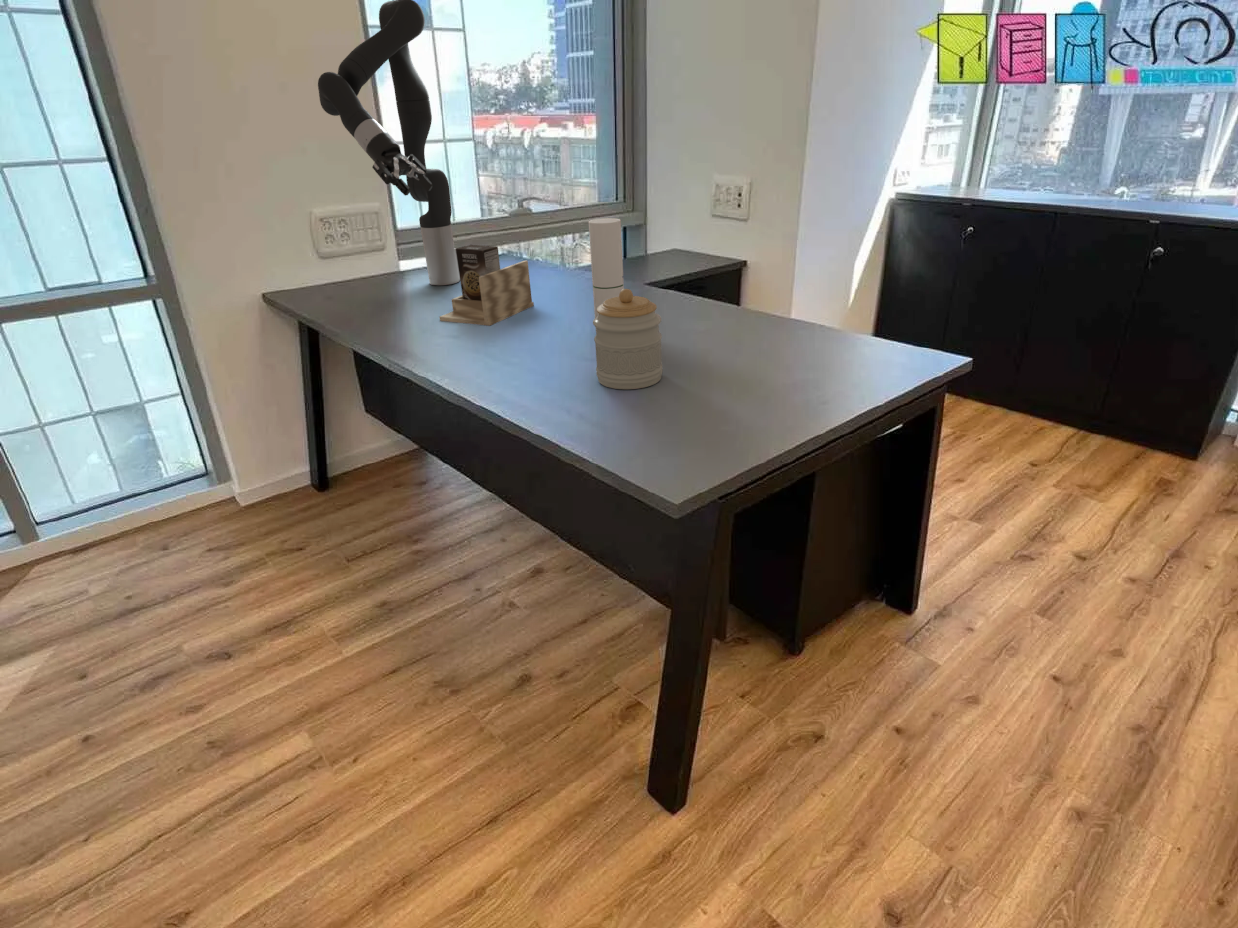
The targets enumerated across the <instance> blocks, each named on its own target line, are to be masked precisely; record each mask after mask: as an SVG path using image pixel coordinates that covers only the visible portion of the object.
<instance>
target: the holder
mask: <svg viewBox="0 0 1238 928" xmlns="http://www.w3.org/2000/svg"><path fill="white" fill-rule="evenodd" d="M530 280H531V279H530V269H529V261H528V260H522V261H519V262H517V263H516V262H515V263H513V264H511V265H508V266H506V267H503V268H500V270H497V271H494V272H491V273H489V274H486V275H483V276H480V277H479V284H480V292H481V299H482V301H477V300H466V299H463V295H462V294H461V295H459V296H457V297H454V298H452V299H451V306H452V311H449V312H448V313H445V314H442V315H440V316H438V317H439V322H449V323H450V322H451V323H459V324H460V323H461V324H469V325H479V326H486V327H487V326H493V325H495V324H497V323H500V322H502V321H504V320H506V319H507V318H508V319H509V318H511V317H512V316H514V315H517V314H519V313H522V312H523V311H525V310H527V309H530V308H532V307H534V305H535V303H534V301H533V299H532V298H533V297H532V288H531V281H530Z"/></svg>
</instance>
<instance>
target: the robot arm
mask: <svg viewBox="0 0 1238 928" xmlns="http://www.w3.org/2000/svg"><path fill="white" fill-rule="evenodd" d="M425 20H426V19H425V13H424V11H423V9H422V7H421V6H420V5H419V3H418V2H416V1H415V0H389V1H386V2H384V3H382V4H381V5H380V8H379V12H378V21H379V22H378V23H379V28H380V29H379V31H377V33H375V34H373V35H372V36H370V37H369V38H367V39H366V40H364V41H362V42H361V43H359V44H358V45H357V46H356V47H355V48H354V49H353V50H351V51H350V52H349V54H348V55H347V56H346V57H345V58H344V59H343V60H342V61H341V62H340V63H339V66H338V69H337V73H336V72H333V71H326V72H324V73H322V74H321V75H320V76H319V78H318V80H317V88H318V96H319V102H320V106H321V108H322V109H323V111H324V112H325V113H326V114H328V115H330V116H334V117H335V116H338V117H339V118H340V121H341V123H342V124H343V125H342V126H343V127H344V128H345V129H346V131H347V132H349V134H350V135H351V136H352V137H353V138H354V140H355V141H356V142H357V144H358V146H359V147H360V148H361V149H363V151H364V152H365V153H366V154H367V155H368V157H369V158H370V159H371V160H372V161H373V162H374V163H373V164H372V169H373V170H374V171H375V173H376V174H377V175H378V176H379V178H380V179H381V180H382V181H383V183H384V184H386V185H389V184H391V186H395V187H396V188H397V189H398V191H400V192H401V194H403V196H405V197H406V196H409V194H410V196H411V198H412V199H413V200H414V201H416V202H419V203H420V202H422V203H427V204H428V205H427V207H428V209H427V212H426V213H424V214H422V215H421V216H420V217H419V227H420V233H421V238H422V239H421V240H422V246H423V250H424V257H425V262H426V269H427V274H428V279H429V284H430V285H432V286H448V285H452V284H456V283H459V282H460V275H459V268H458V261H457V254H456V248H455V243H454V242H455V240H454V234H453V228H452V203H451V192H450V191H451V190H450V185H449V184H450V183H449V179H448V178H447V176H446V173H445V172H444V171H443V170H441V169H439V168H427V166H426V164H427V163H426V160H425V159H426V157H425V155H426V154H425V147H426V143H427V139H428V137H429V133H430V129H431V127H432V121H433V119H432V118H433V117H432V109H431V102H430V97H429V91H428V89H427V87H426V85H425V83H424V81H423V80H422V78H421V76H420V74H419V73H418V71H417V69H416V67H415V66H414V63H413V61H412V58H411V54H410V47H409V43H410V42H412V41H413V40H414V39H416V38H417V37H419V36H420V35H421V34H422V33H423V30H424V28H425V26H426V25H425V24H426V21H425ZM387 61H388V63H389V69H390V73H391V79H392V84H393V90H394V94H395V95H394V96H395V97H394V98H395V104H396V109H397V115H398V120H399V124H400V131H401V136H402V137H401V138H402V145H403V152H404V155H403V153H402V151H401V147H400V145H399V144H398V143H397V142H396V140H395V139H394V138H393V137H392V136H391V134H390V133H388V131H387V130H386V129H385V128H384V127H383V126H382V124H380V123H379V122H378V121H377V120H375V118H374V117H373V116H372V115H371V113H370V112H369V111H368V110H367V109H365V108H364V107H365V106H363V105H362V103H361V101H360V99H359V97H358V95H359V93H360V91H361V90H362V87H363V86H365V85H366V84H367V82H369V80H370V79H371V78H372V77H373V76H374V74H376V72H377V71H379V69H380V68H381V67H382V66H383V65H384V64H385V63H386V62H387ZM385 175H386V176H385ZM401 176H406V182H405V181H404V180H403V179H402V178H400V177H401Z"/></svg>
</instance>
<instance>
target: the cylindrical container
mask: <svg viewBox="0 0 1238 928" xmlns="http://www.w3.org/2000/svg"><path fill="white" fill-rule="evenodd" d="M621 221H622V220H621V219H620V218H616V217H615V218H614V217H609V218H607V217H606V218H605V217H603V218H595V219H591V220H588V235H589V247H590V249H589V250H590V263H591V264H590V265H591V278H592V291H593V292H592V293H593V294H592V295H593V309H594V319H595V318H596V317H597V316H599V313H598V312H597V307H598V306H600V305H601V304H603V303H604V301H606V300H608V299H610V298H614V297H619V293H620V291H621V290H623V289H625V287H624V286H625V281H624V263H623V245H622V244H623V242H622V224H621Z"/></svg>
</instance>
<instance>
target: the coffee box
mask: <svg viewBox="0 0 1238 928" xmlns="http://www.w3.org/2000/svg"><path fill="white" fill-rule="evenodd" d="M455 249H456V254H457V261H458V268H459V275H460V280H459V282H460V287H461V293H462V294H461V295H463V299H466V300H477V301H482V299H481V292H480V284H479V277H480V276H483V275H486V274H489V273H491V272H494V271H497V270H500V269H501V263H500V256H499V255H500V254H499V253H500V252H499V247H498V246H494V245H493V246H492V245H482V244H481V245H480V244H479V245H478V244H468V245H463V246H460V247H457V248H455Z"/></svg>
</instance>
